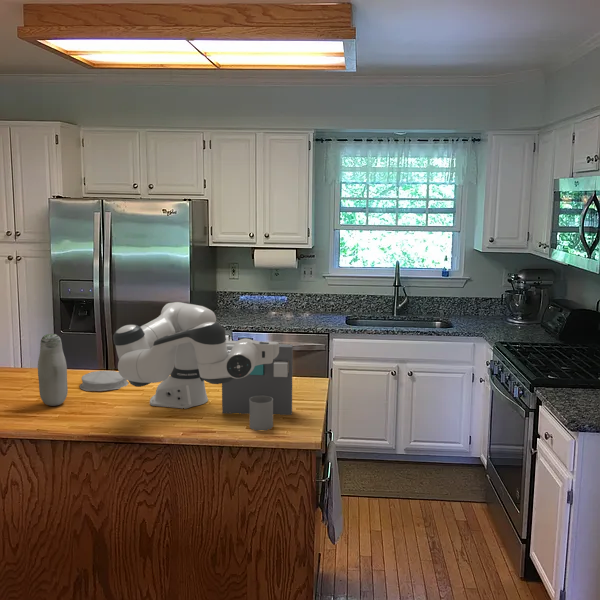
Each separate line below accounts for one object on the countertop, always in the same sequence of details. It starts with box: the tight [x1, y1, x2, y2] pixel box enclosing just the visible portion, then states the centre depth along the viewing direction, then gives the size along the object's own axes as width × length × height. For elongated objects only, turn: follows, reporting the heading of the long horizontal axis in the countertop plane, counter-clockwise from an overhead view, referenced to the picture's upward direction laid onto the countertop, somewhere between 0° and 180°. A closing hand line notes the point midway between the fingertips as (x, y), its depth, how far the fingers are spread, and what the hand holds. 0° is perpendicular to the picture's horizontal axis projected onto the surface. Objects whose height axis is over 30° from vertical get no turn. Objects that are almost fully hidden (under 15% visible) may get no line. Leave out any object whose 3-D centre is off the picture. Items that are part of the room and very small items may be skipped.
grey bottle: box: [37, 333, 69, 407], centre depth 244 cm, size 10×10×28 cm
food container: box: [79, 370, 130, 392], centre depth 271 cm, size 20×20×7 cm
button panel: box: [221, 343, 294, 416], centre depth 238 cm, size 26×4×26 cm, turn 88°
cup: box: [249, 396, 274, 431], centre depth 226 cm, size 8×8×10 cm
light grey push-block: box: [274, 361, 289, 377], centre depth 235 cm, size 5×6×5 cm
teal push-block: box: [250, 364, 264, 375], centre depth 238 cm, size 5×6×5 cm
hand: (250, 342), depth 215 cm, fingers closed
